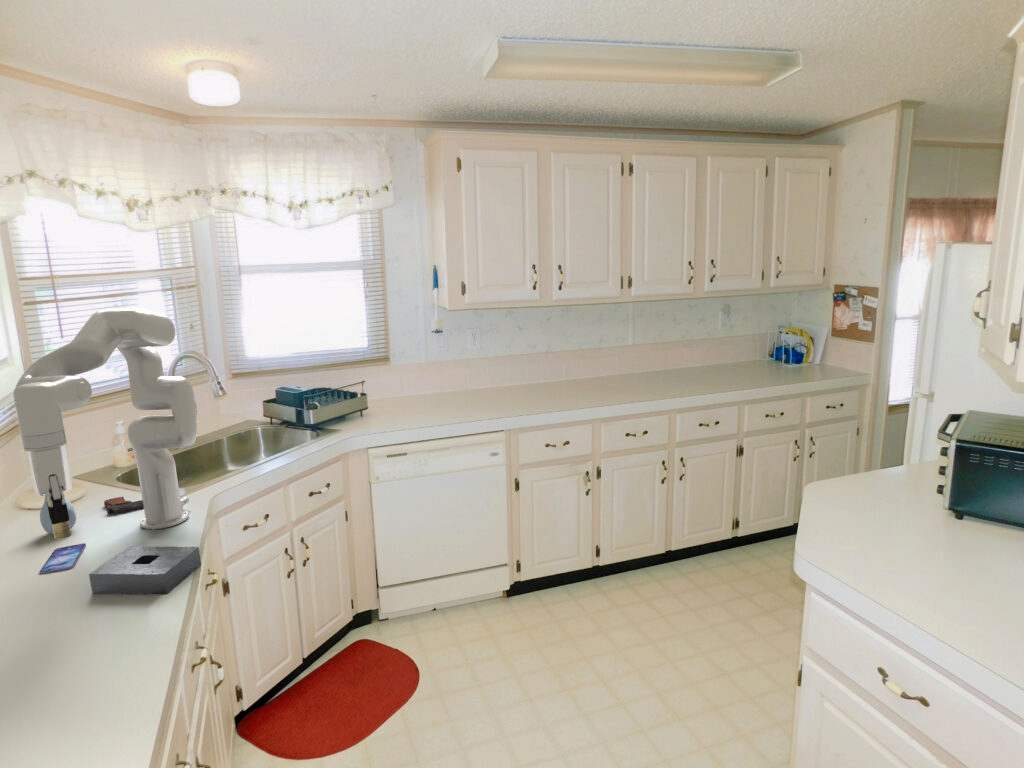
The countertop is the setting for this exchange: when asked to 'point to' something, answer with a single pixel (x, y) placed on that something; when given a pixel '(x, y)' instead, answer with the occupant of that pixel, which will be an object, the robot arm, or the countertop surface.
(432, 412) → the countertop surface
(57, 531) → the brass pin
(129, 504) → the handgun
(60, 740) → the countertop surface
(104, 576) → the block
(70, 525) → the pendant light
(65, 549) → the smartphone
